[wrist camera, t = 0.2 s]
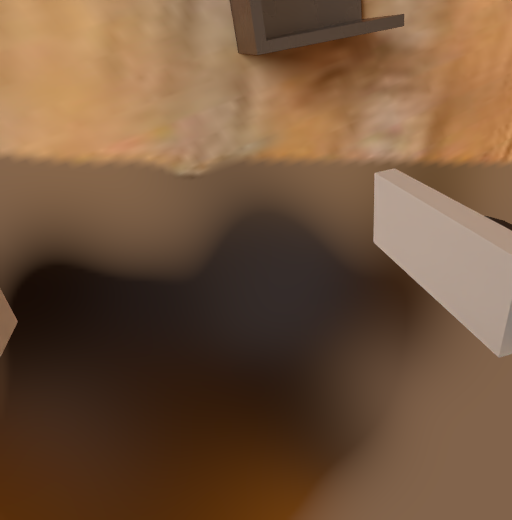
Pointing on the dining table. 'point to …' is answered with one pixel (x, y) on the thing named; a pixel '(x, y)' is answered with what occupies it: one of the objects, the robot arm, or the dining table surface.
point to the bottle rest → (300, 23)
